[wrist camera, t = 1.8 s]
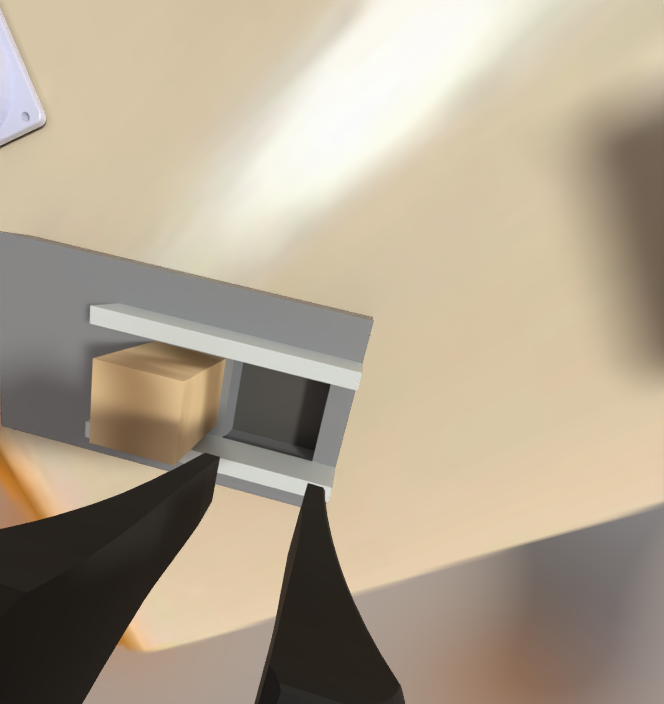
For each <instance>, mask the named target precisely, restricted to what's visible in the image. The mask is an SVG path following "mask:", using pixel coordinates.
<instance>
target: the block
mask: <svg viewBox="0 0 664 704" xmlns="http://www.w3.org/2000/svg"><path fill="white" fill-rule="evenodd" d="M225 362H226V358H222V357H218V356H214V355H210V354H206V353H202V352H198V351H194V350H190V349H186V348H182V347H178V346H174V345H170V344H166V343H162V342H158V341H153V342H150V343H146V344H143V345H139V346H135V347H132V348H128V349H125V350H121V351H117V352H114V353H110V354H107V355H103V356H99V357H96V358H93V367H92V390H91V413H90V436H89V443H92V444H96V445H100V446H103V447H107V448H111V449H114V450H118V451H122V452H125V453H129V454H133V455H137V456H140V457H144V458H148V459H151V460H155V461H159V462H162V463H166V464H170V465H173V466H174V465H175V464H176V463H177V462H178V461H179V460H180V459H181V458H182V457H183V456H184V455H185V454H186V453H188V452H189V451H190V450H191V449H192V448H193V447H194V446H195V445H196V444H197V443H198V442H199V441H200V440H201V439H202V438H203V437H204V436H205V435H206V434H207V433H208V432H209V431H210V430H211V429H213V428H214V427H215V426H216V422H217V415H218V409H219V402H220V395H221V389H222V382H223V375H224V369H225Z"/></svg>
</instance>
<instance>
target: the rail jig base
mask: <svg viewBox="0 0 664 704" xmlns="http://www.w3.org/2000/svg"><path fill="white" fill-rule="evenodd" d="M372 325H373V317H369V316H365V315H361V314H357V313H353V312H348V311H344V310H340V309H336V308H332V307H327V306H323V305H319V304H315V303H311V302H306V301H302V300H298V299H294V298H290V297H286V296H281V295H277V294H273V293H269V292H265V291H260V290H256V289H252V288H248V287H244V286H240V285H235V284H231V283H227V282H223V281H219V280H214V279H210V278H206V277H202V276H198V275H193V274H189V273H185V272H181V271H177V270H173V269H168V268H164V267H160V266H156V265H152V264H147V263H143V262H139V261H135V260H131V259H127V258H122V257H118V256H114V255H110V254H106V253H101V252H97V251H93V250H89V249H85V248H80V247H76V246H72V245H68V244H64V243H60V242H55V241H51V240H47V239H43V238H39V237H34V236H30V235H23V234H16V233H9V232H2V231H0V398H1V426H4V427H8V428H12V429H15V430H19V431H23V432H26V433H30V434H34V435H37V436H41V437H45V438H48V439H52V440H56V441H60V442H63V443H67V444H71V445H74V446H78V447H82V448H85V449H89V450H93V451H96V452H100V453H104V454H107V455H111V456H115V457H118V458H122V459H126V460H129V461H133V462H137V463H140V464H144V465H148V466H151V467H155V468H159V469H162V470H166V471H171V470H173V469H175V468H177V467H179V466H181V465H182V464H184V463H186V462H188V461H190V460H192V459H194V458H196V457H198V456H200V455H202V454H204V453H209V454H212V455H215V456H219V457H220V461H219V466H218V472H217V477H216V482H215V484H217V485H221V486H225V487H228V488H232V489H236V490H240V491H243V492H247V493H251V494H254V495H258V496H262V497H265V498H269V499H273V500H276V501H280V502H284V503H287V504H291V505H295V506H298V507H301V505H302V501H303V498H304V494H305V491H306V487H307V484H308V483H310V484H314V485H317V486H321V487H323V488H324V490H325V502H329V498H330V494H331V490H332V486H333V479H334V473H335V467H336V463H337V459H338V455H339V452H340V448H341V444H342V440H343V436H344V432H345V429H346V425H347V421H348V417H349V413H350V409H351V405H352V402H353V398H354V394H355V390H356V391H358V387H359V384H360V380H361V376H362V364H363V359H364V356H365V352H366V348H367V344H368V340H369V336H370V333H371V329H372ZM153 341H158V342H162V343H166V344H170V345H174V346H178V347H182V348H186V349H190V350H194V351H198V352H202V353H206V354H210V355H214V356H218V357H222V358H226V362H225V369H224V375H223V382H222V389H221V395H220V402H219V409H218V415H217V422H216V426H215V427H214V428H213V429H211V430H210V431H209V432H208V433H207V434H206V435H205V436H204V437H203V438H202V439H201V440H200V441H199V442H198V443H197V444H196V445H195V446H194V447H193V448H192V449H191V450H190V451H189V452H188V453H186V454H185V455H184V456H183V457H182V458H181V459H180V460H179V461H178V462H177V463H176V464H175V465H174V466H173V465H170V464H166V463H162V462H159V461H155V460H151V459H148V458H144V457H140V456H137V455H133V454H129V453H125V452H122V451H118V450H114V449H111V448H107V447H103V446H100V445H96V444H92V443H89V436H90V413H91V390H92V367H93V358H96V357H99V356H103V355H107V354H110V353H114V352H117V351H121V350H125V349H128V348H132V347H135V346H139V345H143V344H146V343H150V342H153Z"/></svg>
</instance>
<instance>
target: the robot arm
mask: <svg viewBox="0 0 664 704" xmlns="http://www.w3.org/2000/svg"><path fill="white" fill-rule="evenodd" d="M29 117H30V119H29ZM28 119H29V120H28ZM45 122H46V115H45V112H44V110H43V107H42V105H41V103H40V100H39V98H38V96H37V93H36V91H35V89H34V86H33V84H32V82H31V79H30V77H29V75H28V72H27V70H26V67H25V65H24V63H23V60H22V58H21V56H20V53H19V51H18V49H17V46H16V44H15V42H14V39H13V37H12V35H11V32H10V30H9V28H8V25H7V23H6V21H5V18H4V16H3V13H2V11H1V9H0V146H1V145H3V144H5V143H7V142H9V141H11V140H13V139H15V138H17V137H20V136H22V135H24V134H26V133H28V132H30V131H32V130H34V129H36V128H38V127H41V126H42V125H44V124H45ZM219 461H220V457H219V456H215V455H212V454H209V453H204V454H202V455H200V456H198V457H196V458H194V459H192V460H190V461H188V462H186V463H184V464H182V465H181V466H179V467H177V468H175V469H173V470H171V471H169V472H167V473H165V474H163V475H161V476H159V477H157V478H155V479H153V480H151V481H149V482H146V483H144V484H142V485H140V486H138V487H135V488H133V489H131V490H129V491H126V492H124V493H121V494H119V495H116V496H114V497H111V498H108V499H106V500H103V501H100V502H97V503H95V504H92V505H89V506H86V507H82V508H79V509H76V510H73V511H69V512H66V513H63V514H59V515H56V516H53V517H49V518H45V519H41V520H37V521H33V522H29V523H25V524H21V525H17V526H12V527H8V528H3V529H0V704H82V703H83V701H84V700H85V698H86V696H87V694H88V693H89V691H90V689H91V688H92V686H93V684H94V682H95V681H96V679H97V677H98V675H99V674H100V672H101V670H102V669H103V667H104V665H105V664H106V662H107V660H108V659H109V657H110V655H111V654H112V652H113V650H114V649H115V647H116V645H117V644H118V642H119V640H120V639H121V637H122V635H123V634H124V632H125V630H126V629H127V627H128V626H129V624H130V622H131V621H132V619H133V617H134V616H135V614H136V613H137V611H138V609H139V608H140V606H141V604H142V603H143V601H144V600H145V598H146V597H147V595H148V594H149V592H150V591H151V589H152V588H153V586H154V585H155V584H156V582H157V581H158V580H159V578H160V577H161V575H162V574H163V573H164V571H165V570H166V569H167V567H168V566H169V565H170V563H171V562H172V561H173V559H174V558H175V556H176V555H177V554H178V552H179V551H180V550H181V548H182V547H183V546H184V544H185V543H186V541H187V540H188V539H189V537H190V536H191V535H192V533H193V532H194V530H195V529H196V528H197V526H198V524H199V523H200V521H201V519H202V518H203V516H204V514H205V512H206V511H207V509H208V507H209V505H210V504H211V502H212V498H213V493H214V487H215V482H216V477H217V472H218V466H219ZM255 704H405V700H404V696H403V692H402V688H401V686H400V684H399V682H398V681H397V679H396V678H395V676H394V675H393V673H392V672H391V670H390V668H389V666H388V665H387V663H386V662H385V660H384V658H383V657H382V655H381V654H380V652H379V650H378V648H377V646H376V645H375V643H374V641H373V639H372V637H371V635H370V633H369V632H368V630H367V628H366V626H365V624H364V621H363V619H362V617H361V615H360V613H359V611H358V609H357V607H356V605H355V603H354V601H353V598H352V596H351V593H350V591H349V588H348V586H347V584H346V581H345V578H344V576H343V573H342V570H341V567H340V564H339V561H338V558H337V554H336V551H335V547H334V544H333V540H332V536H331V531H330V527H329V522H328V517H327V510H326V502H325V490H324V488H323V487H321V486H317V485H314V484H310V483H308V484H307V487H306V491H305V494H304V498H303V501H302V505H301V509H300V512H299V516H298V520H297V523H296V527H295V530H294V534H293V538H292V541H291V545H290V549H289V552H288V557H287V562H286V567H285V573H284V578H283V583H282V589H281V594H280V599H279V605H278V610H277V615H276V621H275V626H274V630H273V635H272V639H271V643H270V647H269V651H268V655H267V658H266V662H265V666H264V670H263V674H262V677H261V681H260V685H259V689H258V692H257V696H256V700H255Z"/></svg>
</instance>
